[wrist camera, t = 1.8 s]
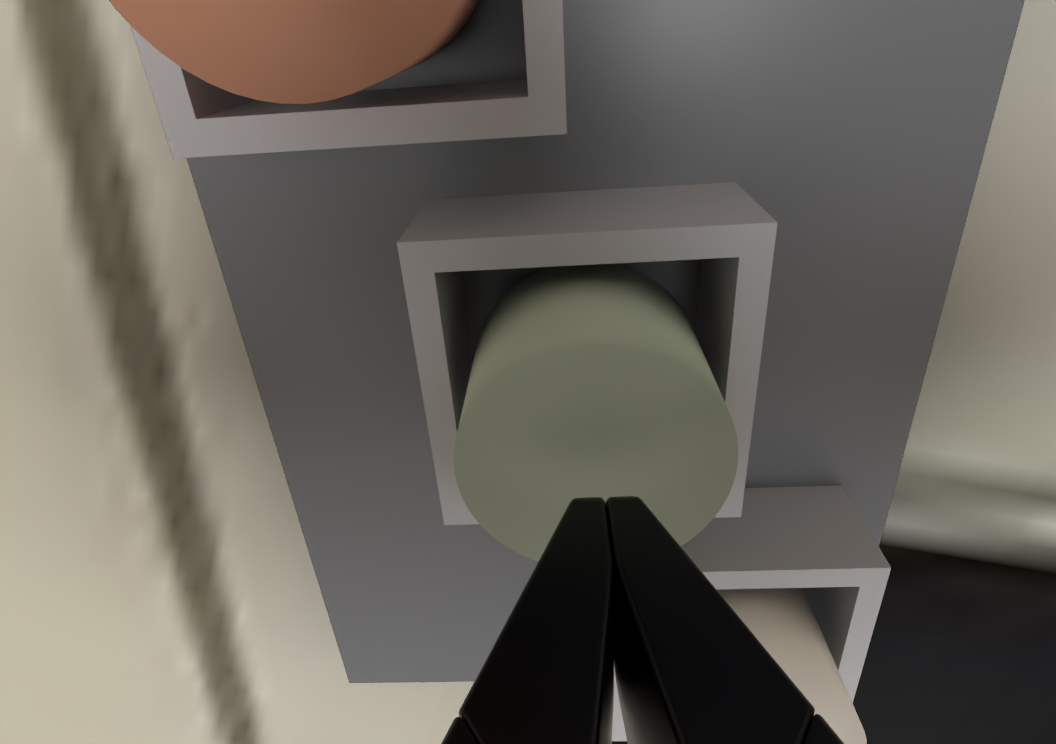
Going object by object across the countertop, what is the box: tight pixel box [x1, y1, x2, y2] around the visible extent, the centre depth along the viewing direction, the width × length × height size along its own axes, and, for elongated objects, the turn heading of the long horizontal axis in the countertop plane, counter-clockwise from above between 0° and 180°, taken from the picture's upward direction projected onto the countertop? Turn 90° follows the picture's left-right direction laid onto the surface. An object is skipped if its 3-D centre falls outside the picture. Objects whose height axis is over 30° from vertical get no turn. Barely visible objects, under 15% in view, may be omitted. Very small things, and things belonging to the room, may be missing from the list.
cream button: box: [717, 588, 867, 744], centre depth 14 cm, size 4×4×3 cm
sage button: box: [454, 264, 739, 561], centre depth 11 cm, size 4×4×3 cm
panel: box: [130, 0, 1024, 741], centre depth 12 cm, size 14×22×4 cm, turn 4°
